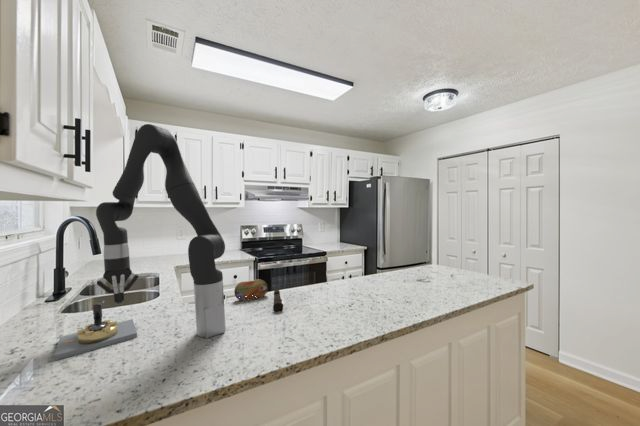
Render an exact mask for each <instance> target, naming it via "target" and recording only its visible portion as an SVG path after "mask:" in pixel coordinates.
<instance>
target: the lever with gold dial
mask: <svg viewBox="0 0 640 426" xmlns="http://www.w3.org/2000/svg"><path fill="white" fill-rule="evenodd" d="M102 305H103V304H102V302H97V303H94V304H92V313H93V316H92V317H93V320H94V321H93V323H90V324H87V325H85V326H84V329H83V328H82V329H78V330H77V332H76V333H78V342H79V343H80V344H90V343H95V342H99V341H102V340H105V339H108V338H110V337H112V336H114V335H115V334H116V333H117V323H118V321H117V320H115V321H111V320H110V319H108V320H106V319H105V320H102V318H103V308H102V307H103V306H102Z"/></svg>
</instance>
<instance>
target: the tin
mask: <svg viewBox="0 0 640 426" xmlns="http://www.w3.org/2000/svg"><path fill="white" fill-rule="evenodd" d="M268 288H269V286H268V284H267V282H266V281H265V280H264V279H260V278H259V279H258V278H257V279H253V280H246V281H241V282H239V283H237V284H236V286H235V287H234V292H233V294H234V296H235V298H236V299H237V300H238V301H241V302H243V301H242V300H246V301H249V300H248V299H251V300H254V299H255V298H256V297H258V298H256V299H260V298H263V297H264V296H266V295H267V294H268V293H267V292H268ZM252 295H253V296H252ZM245 296H247V297H245ZM255 296H256V297H255ZM239 297H240V298H239ZM256 299H255V300H256Z"/></svg>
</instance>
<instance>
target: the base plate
mask: <svg viewBox="0 0 640 426" xmlns="http://www.w3.org/2000/svg"><path fill="white" fill-rule="evenodd" d="M136 338H138V331H137V329H136V326H135V323H134V320H133V319H127V320H122V321H120V322H119V321H118V322H117V333H116V334H115V335H114V336H112V337H110V338H108V339H105V340H102V341H99V342H95V343H90V344H80V343H79V342H78V333H77V332H74V333H70V334H65V335H63V336H60V337H59V339H58V343H57V346H56V348H55V352H54V355H53V361H58V360H63V359H66V358H69V357H72V356H76V355H80V354H84V353H87V352H90V351H94V350H97V349H101V348H104V347H108V346H110V345H111V346H112V345H115V344H118V343H122V342H125V341H128V340H133V339H136Z"/></svg>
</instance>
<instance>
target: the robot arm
mask: <svg viewBox="0 0 640 426" xmlns="http://www.w3.org/2000/svg"><path fill="white" fill-rule="evenodd" d="M151 153H153V154H156V155H157V154H158V156H159V157H160V159H161V160H162V162H163V165H164V166H165V171H166V174H165V181H164V187H165V191H166V194H167V196H168V199H169V200H170V202H171V205H172V206H173V208H174V209H175V210H176V212H178V214H179V215H181V216H182V218H184V219H185V220H186V221H187V222H188V223H189V224H190V225H191V226H192V228H193V229H194V231H195V233H196V235H197V236H195V237H194V236H193V238H192V239H191V240H190V241H189V244H188V247H187V253H188V254H187V255H188V264H189V272H190V275H191V278H192V281H193V292H194V293H193V296H194V311H195V314H194V315H195V326H196V336H197V337H200V338H206V339H209V338H211V337H214V336H218V335H220V334H223V333H225V332H226V327H227V325H226V315H225V314H226V313H225V312H226V311H225V310H226V309H225V294H224V293H225V292H224V280H223V279H224V277H223V272H222V270H219V269H217V267H216V262H215V260H217V259H219V258H221V257H222V256H223V255H224V253H225V250H226V243H225V241H224V239H223V236H222V235H221V233H220V232H219V230H218V228H217V227H216V225H215V223H214V222H213V220H212V218H211V216H210V215H209V212H208V210H207V208H206V206H205V204H204V202H203V200H202V197H201V195H200V193H199V191H198V189H197V186H196V184H195V183H194V181H193V179H192V176H191V175H190V172H189V170H188V167H187V166H186V164H185V161H184V159H183V156H182V153H181V151H180V147H179V144H178V142H177V139H176V136H175V135H174V134H173V133H172V132H171V131H170V130H168V129H166V128H163V127H161V126H157V125H155V124H151V123H146V124H143V125H141V126H140V127H139V128H138V130H137V132H136V133H135V136H134V139H133V141H132V145H131V148H130V151H129V154H128V158H127V161H126V163H125V167H124V169H123V171H122V173H121V176H120V177H119V179H118V181H117V182H116V185H115V186H114V188H113V191H112V196H113V198H115V199H116V200H118V201H117V202H115V201H113V202H111V201H106V202H101V203H100V204H98V206H97V207H96V210H95V216H96V219H97V221H98V224H99V227H100V230H101V231H102V234H103V262H104V263H103V264H104V265H103V266H104V272H103V275H102V277H101V278H100V279H98V280H96V285H97V286H98V287H100V288H102V290H104V291H105V292H107V293H108V294H113V298H114V303H116V304H122V303H123V301H124V300H125V292H126V291H128V290H130V289H131V288H132V286H133V285H134V284H135V282H136V281H137V280H138V278H139V275H138V274H136V273H134V272H133V271H132V270H131V261H130V260H131V259H130V248H129V241H128V239H129V238H128V237H129V236H128V231H127V229H126V228H125V227H119V226H118V225H117V222H123V221H126V220H128V219H129V218H130V217H131V216H132V214H133V210H134V206H135V201H136V197H137V196H138V195H139V192H140V191H141V189H142V187H143V184H144V181H145V172H144V171H145V170H144V168H145V162H146V160H147V158H148V157H149V155H150V154H151ZM129 278H130V280H129ZM128 280H129V281H128ZM106 281H107V282H108V283H109V284H110V285H112V287H113V288H111V287H110V286H109V285H107V283H106ZM127 281H128V282H127ZM126 282H127V284H126V285H125V283H126ZM118 284H119V288H118ZM118 289H119V290H118Z"/></svg>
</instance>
